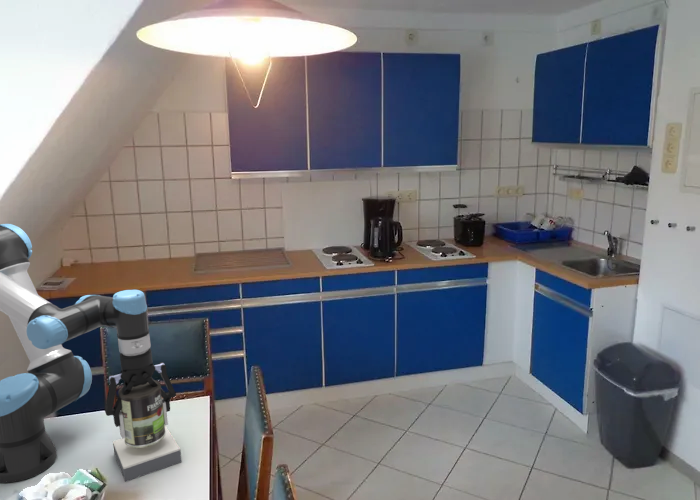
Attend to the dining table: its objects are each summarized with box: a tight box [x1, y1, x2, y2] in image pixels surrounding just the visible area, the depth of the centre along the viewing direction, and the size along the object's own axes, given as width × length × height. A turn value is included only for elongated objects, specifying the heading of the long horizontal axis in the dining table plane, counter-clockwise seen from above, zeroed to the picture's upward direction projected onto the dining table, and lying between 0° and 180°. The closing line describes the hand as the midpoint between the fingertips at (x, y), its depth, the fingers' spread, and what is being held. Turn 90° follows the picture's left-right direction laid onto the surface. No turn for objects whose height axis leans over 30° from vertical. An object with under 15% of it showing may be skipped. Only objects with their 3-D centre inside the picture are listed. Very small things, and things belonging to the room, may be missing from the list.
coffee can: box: [117, 379, 166, 448], centre depth 137 cm, size 10×10×14 cm
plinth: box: [112, 424, 182, 482], centre depth 140 cm, size 14×14×4 cm
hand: (144, 429), depth 138 cm, fingers closed on coffee can, 10 cm apart
